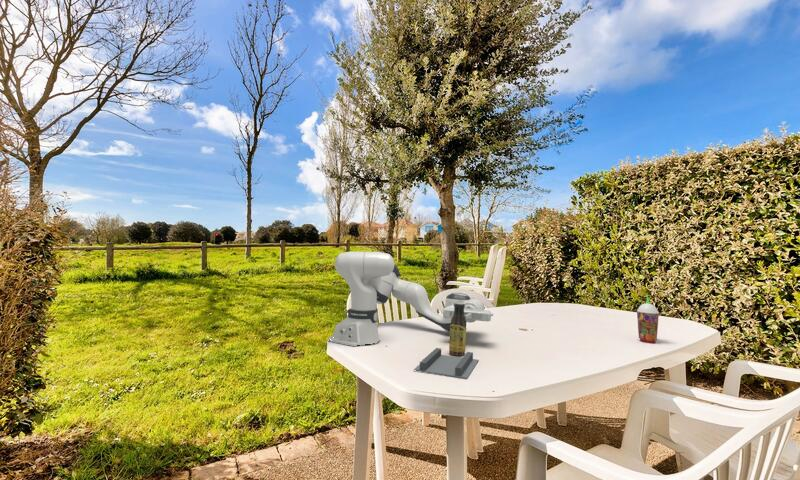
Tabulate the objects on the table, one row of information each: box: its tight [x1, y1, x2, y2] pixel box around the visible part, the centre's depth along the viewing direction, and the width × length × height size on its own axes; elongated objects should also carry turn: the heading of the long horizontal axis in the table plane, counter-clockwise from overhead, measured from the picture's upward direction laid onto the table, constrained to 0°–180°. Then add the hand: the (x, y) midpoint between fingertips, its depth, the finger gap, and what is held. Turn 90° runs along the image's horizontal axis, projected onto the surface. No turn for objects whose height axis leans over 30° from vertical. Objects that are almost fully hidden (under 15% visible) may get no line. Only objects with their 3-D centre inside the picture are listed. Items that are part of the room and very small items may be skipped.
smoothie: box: [636, 296, 660, 344], centre depth 165 cm, size 8×8×20 cm
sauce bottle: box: [448, 302, 467, 357], centre depth 142 cm, size 7×6×20 cm
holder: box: [413, 347, 480, 380], centre depth 128 cm, size 18×20×3 cm
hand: (463, 317), depth 150 cm, fingers closed
